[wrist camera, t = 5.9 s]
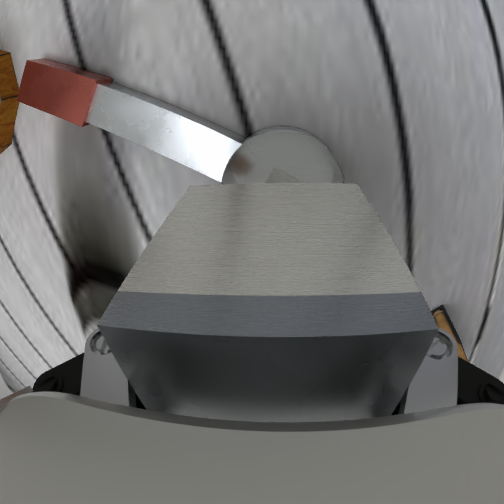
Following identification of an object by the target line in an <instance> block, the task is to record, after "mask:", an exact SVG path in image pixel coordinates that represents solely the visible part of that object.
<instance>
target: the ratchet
mask: <svg viewBox="0 0 504 504" xmlns="http://www.w3.org/2000/svg"><path fill="white" fill-rule="evenodd" d="M112 81H113V79H112V78H109V77H106V76H103V75H100V74H97V73H94V72H90V71H87V70H84V69H81V68H77V67H74V66H70V65H67V64H63V63H59V62H56V61H52V60H48V59H35V60H27V62H26V65H25V69H24V73H23V76H22V80H21V84H20V89H19V93H18V98H17V101H18V102H21V103H24V104H26V105H29V106H32V107H34V108H37V109H39V110H42V111H44V112H47V113H49V114H52V115H54V116H57V117H59V118H62V119H64V120H67V121H69V122H72V123H74V124H77V125H79V126H81V127H83V126H86V125H89V124H92V125H95V126H97V127H99V128H102V129H104V130H107V131H109V132H111V133H114V134H116V135H118V136H121V137H123V138H125V139H128V140H130V141H132V142H134V143H137V144H139V145H141V146H144V147H146V148H148V149H150V150H153V151H155V152H157V153H159V154H161V155H164V156H166V157H168V158H170V159H172V160H175V161H177V162H179V163H181V164H183V165H185V166H187V167H190V168H192V169H194V170H196V171H198V172H200V173H202V174H204V175H207V176H209V177H211V178H213V179H215V180H217V181H219V182H221V184H249V183H343V177H342V174H341V170H340V168H339V166H338V164H337V162H336V160H335V159H334V157H333V156H332V154H331V153H330V151H329V150H328V148H327V147H326V146H325V145H324V144H323V143H322V142H321V141H320V140H319V139H318V138H317V137H315V136H314V135H312V134H311V133H309V132H307V131H304V130H302V129H299V128H295V127H290V126H274V127H269V128H265V129H262V130H259V131H257V132H255V133H254V134H252V135H250V136H249V137H248V138H246V139H245V138H243V137H241V136H239V135H237V134H235V133H233V132H231V131H229V130H227V129H225V128H222V127H220V126H218V125H216V124H214V123H212V122H209V121H207V120H205V119H203V118H200V117H198V116H196V115H194V114H191V113H189V112H187V111H184V110H182V109H180V108H177V107H175V106H172V105H170V104H168V103H165V102H163V101H160V100H158V99H155V98H153V97H150V96H147V95H145V94H142V93H140V92H137V91H134V90H131V89H129V88H126V87H123V86H120V85H118V84H115V83H112Z"/></svg>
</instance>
